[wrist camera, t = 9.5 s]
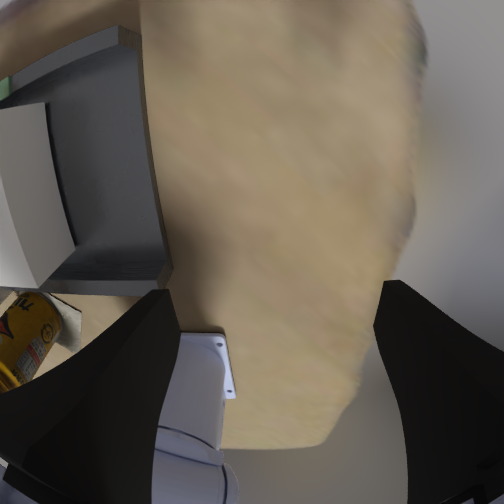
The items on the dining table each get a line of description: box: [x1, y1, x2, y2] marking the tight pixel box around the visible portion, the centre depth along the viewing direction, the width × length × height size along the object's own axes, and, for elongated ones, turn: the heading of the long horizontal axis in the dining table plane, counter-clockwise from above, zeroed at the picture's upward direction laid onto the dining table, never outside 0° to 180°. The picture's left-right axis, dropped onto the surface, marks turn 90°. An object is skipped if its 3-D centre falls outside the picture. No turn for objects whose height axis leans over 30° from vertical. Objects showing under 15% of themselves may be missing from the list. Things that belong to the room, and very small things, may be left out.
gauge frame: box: [0, 25, 173, 305], centre depth 14 cm, size 16×18×6 cm
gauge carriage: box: [0, 102, 76, 288], centre depth 13 cm, size 14×6×5 cm, turn 4°
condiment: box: [0, 291, 82, 394], centre depth 18 cm, size 7×8×12 cm
